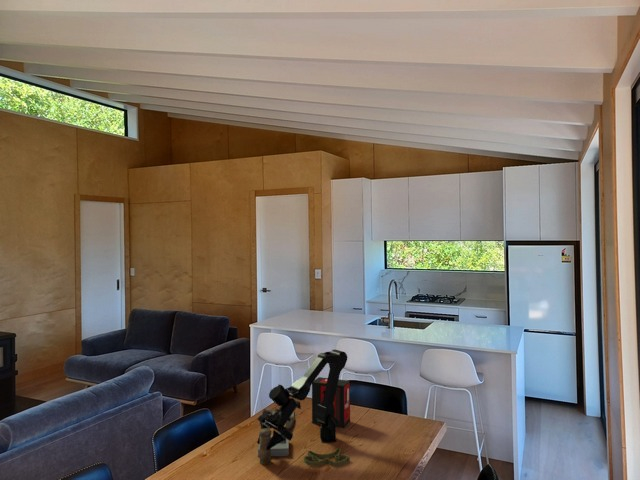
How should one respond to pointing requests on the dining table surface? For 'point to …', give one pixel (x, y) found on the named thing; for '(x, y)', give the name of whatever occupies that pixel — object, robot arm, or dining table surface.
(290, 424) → the cleaver
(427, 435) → the dining table surface
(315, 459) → the cookie cutter
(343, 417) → the cleaning product box
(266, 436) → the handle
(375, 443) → the dining table surface
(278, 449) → the box
